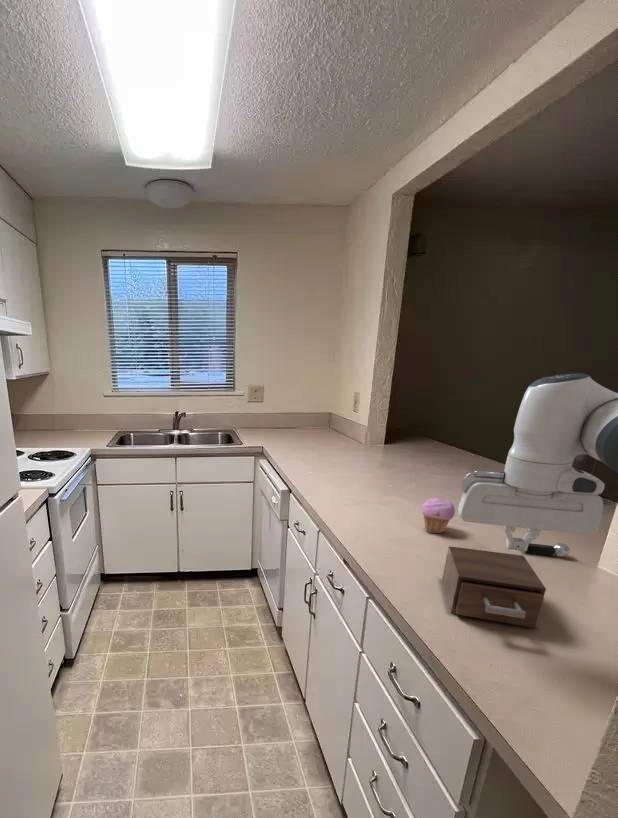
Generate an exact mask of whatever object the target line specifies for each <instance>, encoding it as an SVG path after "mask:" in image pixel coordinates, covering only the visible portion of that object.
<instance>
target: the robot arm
mask: <svg viewBox="0 0 618 818" xmlns="http://www.w3.org/2000/svg"><path fill="white" fill-rule="evenodd" d="M513 437H514V438H513V443H512V445H511V447H510V449H509V450H508V453H507V457H506V461H505V465H504V470H503V471H484V470H474V471H473V472H469V473H468V474H466V475H465V476H464V477H463V480H462V485H461V490H462V495H461V499H460V501H459V504H458V507H457V513H458V516H459V518H460V519H461V520H462V521H463V522H467V523H474V524H475V523H476V524H484V525H485V524H486V525H494V526H502V530H503V532H504V534H505V536H506V542H505V547H506V549H507V550H513V551H514V550H515V551H521V552H524V551H527V549H528V545H529V543H533V541H534V540H535V539H537V538H538V537H539V536H540V533H541V531H549V532H550V531H551V532H558V533H559V532H560V533H568V534H578V535H586V536H587V535H588V536H590V535H592V534H595V532H597V531H598V529H599V528H600V525H601V520H602V516H603V510H604V500H603V498H602V497H601V496H600V495H601V494H602V493H603V492H604V490H605V486H606V484H605V483H604V482H603V481H602V480H601V479H600V478H598V477H597V476H595V475H593V474H592V475H591V474H589V473H587V472H584V471H581V470H579V469H576V468H572V467H571V466H572V463H573V460H574V458H575V456H577V455H580V454H584V455H590V456H591V457H593V458H595V459H597V461H599V462H602V463H603V464H604V465H606V467H608V468H610V469H611V471H614V472H615V473H617V474H618V392H616V391H614V390H611V389H609V388H606V387H604V386H602V385H601V384H600V383H597V382H596V381H595V380H594V379H592V377H591V376H590V375H588V374H585V373H563V374H555V375H548V376H544V377H541V378H539V379H536V380H534V382H532V383H530V384H529V386H528V387H527V389H526V391H525V392H524V394H523V397H522V399H521V403H520V405H519V408H518V411H517V414H516V419H515V422H514V426H513ZM516 528H521V529H526V531H528V532H527V533H525V535H524V536H523V537H521V538H520V537H513V535H512V533H515V532H516Z"/></svg>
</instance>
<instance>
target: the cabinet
mask: <svg viewBox="0 0 618 818" xmlns="http://www.w3.org/2000/svg"><path fill="white" fill-rule="evenodd" d="M441 580H442V584H443V588H444V592H445V595H446V600H447V604H448V607H449V611H450V614H454V615H457V614H456V612H455V610H456V606H457V601H458V597H459V592H460V587H461V583H462V580H465V581H472V582H479V583H486V584H492V585H499V586H506V587H513V588H520V589H526V590H533V591H535V592H534V593H539V594H542V595H543V596H544V597H545V594H546V590H547V588H546V586H545V585H544V583H543V581H541V579H540V578H539V576H538V575H537V573H536V572H535V570H534V569H533V567H532V566H531V564H530V563H529V561H528V560H527V558H526V557H525V556H524V555H521V554H514V553H505V552H498V551H490V550H481V549H475V548H467V547H458V546H450V545H449V546H448V547H447V553H446V558H445V562H444V568H443V572H442V578H441Z"/></svg>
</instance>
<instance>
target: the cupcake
mask: <svg viewBox="0 0 618 818" xmlns="http://www.w3.org/2000/svg"><path fill="white" fill-rule="evenodd" d="M420 510H421V514H422V515H423V519H424V528H425V530H426V532H427V533H430V534H441V533H443V532H444V531H445V530H446V528H447V526H448V524H449V522H450V520H452V519H453V518H454V516H455V513H456V509H455V506H454V503H452V501H450V500H447V499H444V498H441V497H430V498H428V499H427V500H426V501H425V502H423V504H422V505H421V509H420Z"/></svg>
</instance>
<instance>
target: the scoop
mask: <svg viewBox="0 0 618 818" xmlns="http://www.w3.org/2000/svg"><path fill="white" fill-rule="evenodd" d="M523 552H524V554H526V555H533V556H540V557H541V556H542V557H549V558H553V557H554V556H555V557H557V558H565V557H568V556H569V555H570V552H571V549H570V547H569V546H568V545H567V544H565V543H562V542H559V543H555V544H554V545H547V544H540V543H539V544H538V543H533V542H530V543H529V545H528V549H527V551H523Z"/></svg>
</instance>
